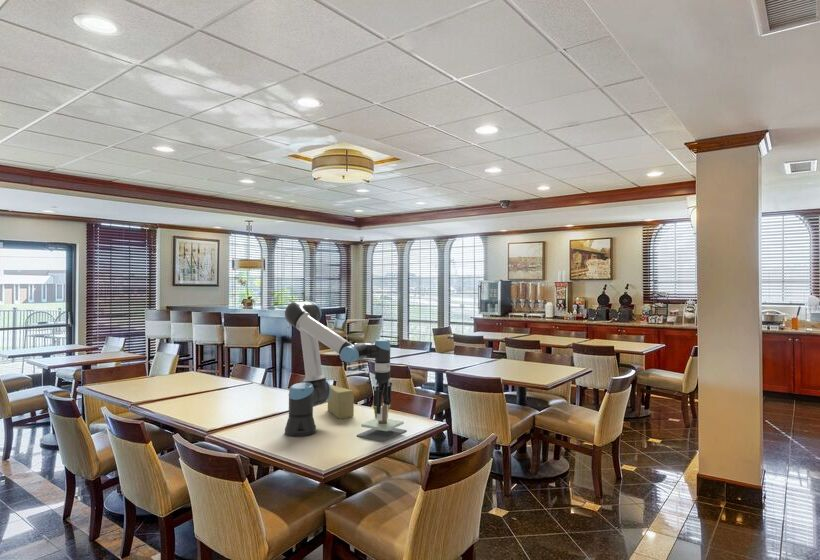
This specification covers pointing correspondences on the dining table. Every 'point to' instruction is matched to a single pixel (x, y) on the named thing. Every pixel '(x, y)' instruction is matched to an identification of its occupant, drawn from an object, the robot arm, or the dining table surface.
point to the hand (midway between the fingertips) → (382, 418)
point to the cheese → (341, 402)
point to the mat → (381, 434)
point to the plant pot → (376, 410)
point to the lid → (382, 422)
